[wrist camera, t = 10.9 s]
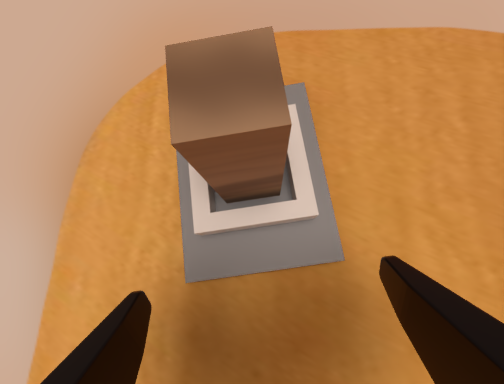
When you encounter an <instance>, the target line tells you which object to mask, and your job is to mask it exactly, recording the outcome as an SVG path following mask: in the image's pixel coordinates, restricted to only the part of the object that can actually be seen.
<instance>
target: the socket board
mask: <svg viewBox="0 0 504 384" xmlns="http://www.w3.org/2000/svg"><path fill="white" fill-rule="evenodd" d="M284 88H285V93H286V98H287V103H288V108H289V113H290V118H291V123H292V126H291V132H290V138H289V144H288V150H287V156H286V162H285V168H284V174H283V180H282V186H281V192H280V196H273V197H267V198H260V199H254V200H247V201H240V202H234V203H226V202H225V201H224V200H223V199H222V198H221V196H220V195H219V194H218V193H217V192H216V191H215V190H214V189H213V188H212V187H211V186H210V185H209V184H208V183H207V182H206V181H205V179H204V178H203V177H202V176H201V175H200V174H199V173H198V172H197V171H196V170H195V169H194V168H193V167H192V166H191V165H190V164H189V163H188V161H187V160H186V159H185V158H184V157H183V156H182V155H181V154H180V153H179V152H178V151H177V150H176V152H177V166H178V181H179V195H180V210H181V224H182V239H183V253H184V268H185V282H186V283H190V282H197V281H204V280H211V279H218V278H225V277H232V276H239V275H246V274H253V273H260V272H267V271H274V270H281V269H288V268H295V267H302V266H309V265H316V264H323V263H330V262H337V261H344V260H345V259H344V254H343V250H342V246H341V241H340V237H339V233H338V228H337V224H336V219H335V215H334V211H333V206H332V202H331V198H330V193H329V189H328V184H327V180H326V176H325V171H324V167H323V163H322V158H321V154H320V150H319V145H318V141H317V136H316V132H315V128H314V123H313V119H312V115H311V110H310V106H309V102H308V97H307V93H306V88H305V84H304V83H298V84H292V85H287V86H284Z"/></svg>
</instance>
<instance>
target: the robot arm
mask: <svg viewBox="0 0 504 384" xmlns="http://www.w3.org/2000/svg"><path fill="white" fill-rule="evenodd" d="M379 275H380V279H381V281H382V283H383V286H384V288H385V290H386V292H387V295H388V297H389V299H390V301H391V304H392V306H393V308H394V310H395V313H396V315H397V317H398V319H399V321H400V323H401V325H402V327H403V329H404V330H405V332H406V334H407V336H408V337H409V339H410V341H411V343H412V344H413V346H414V348H415V350H416V351H417V353H418V355H419V357H420V358H421V360H422V362H423V364H424V366H425V367H426V369H427V371H428V373H429V374H430V376H431V378H432V380H433V381H434V383H435V384H504V323H502V322H500V321H499V320H497V319H496V318H494V317H492V316H491V315H489V314H488V313H486V312H484V311H483V310H481V309H480V308H478V307H476V306H475V305H473V304H472V303H470V302H468V301H467V300H465V299H463V298H462V297H460V296H459V295H457V294H455V293H454V292H452V291H451V290H449V289H447V288H446V287H444V286H443V285H441V284H439V283H438V282H436V281H435V280H433V279H431V278H430V277H428V276H426V275H425V274H423V273H422V272H420V271H418V270H417V269H415V268H414V267H412V266H410V265H409V264H407V263H406V262H404V261H402V260H401V259H399V258H398V257H396V256H385V257H382V259H381V264H380V271H379ZM150 315H151V303H150V301H149V300H148V298H147V296H146V294H145V293H144V292H143V291H134V292H131V293H130V294H129V295H128V296H127V297H126V298H125V299H124V300H123V301H122V302H121V303H120V304H119V305H118V306H117V307H116V308H115V309H114V310H113V311H112V312H111V313H110V314H109V315H108V316H107V317H106V318H105V319H104V320H103V321H102V322H101V323H100V324H99V325H98V326H97V327H96V328H95V329H94V330H93V331H92V332H91V333H90V334H89V335H88V336H87V337H86V338H85V339H84V340H83V341H82V342H81V343H80V344H79V345H78V346H77V347H76V348H75V349H74V350H73V351H72V352H71V353H70V354H69V355H68V356H67V357H66V358H65V359H64V360H63V361H62V362H61V363H60V364H59V365H58V366H57V367H56V368H55V369H54V370H53V371H52V372H51V373H50V374H49V375H48V376H47V377H46V378H45V379H44V380H43V381H42V382H41V383H40V384H135V382H136V379H137V375H138V371H139V368H140V364H141V361H142V357H143V353H144V348H145V343H146V337H147V332H148V326H149V320H150Z"/></svg>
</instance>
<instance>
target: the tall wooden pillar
mask: <svg viewBox="0 0 504 384" xmlns="http://www.w3.org/2000/svg"><path fill="white" fill-rule="evenodd" d="M165 49H166V67H167V83H168V100H169V117H170V134H171V144H172V146H173V147H174V148H175V149H176V150H177V151H178V152H179V153H180V154H181V155H182V156H183V157H184V158H185V159H186V160H187V161H188V163H189V164H190V165H191V166H192V167H193V168H194V169H195V170H196V171H197V172H198V173H199V174H200V175H201V176H202V177H203V178H204V179H205V181H206V182H207V183H208V184H209V185H210V186H211V187H212V188H213V189H214V190H215V191H216V192H217V193H218V194H219V195H220V196H221V198H222V199H223V200H224V201H225V202H226V203H234V202H240V201H247V200H254V199H260V198H267V197H273V196H280V192H281V186H282V180H283V174H284V168H285V162H286V156H287V150H288V144H289V138H290V132H291V126H292V123H291V118H290V113H289V108H288V103H287V98H286V93H285V88H284V83H283V78H282V73H281V68H280V63H279V58H278V53H277V48H276V43H275V38H274V33H273V28H272V26H271V27H266V28H260V29H255V30H250V31H244V32H239V33H233V34H227V35H222V36H216V37H211V38H205V39H200V40H195V41H189V42H184V43H178V44H172V45H167V46H165Z"/></svg>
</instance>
